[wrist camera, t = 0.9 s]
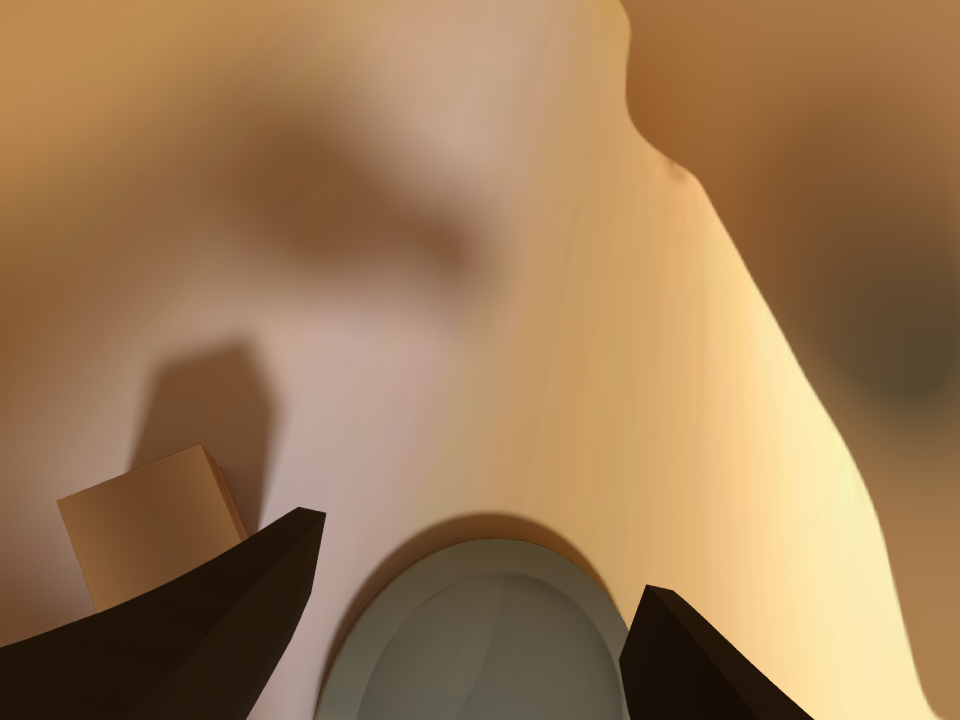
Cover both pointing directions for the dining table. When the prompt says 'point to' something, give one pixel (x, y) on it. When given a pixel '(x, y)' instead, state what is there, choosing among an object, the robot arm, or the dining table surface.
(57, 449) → the dining table surface
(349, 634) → the dish
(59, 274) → the dining table surface
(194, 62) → the dining table surface
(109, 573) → the walnut block
